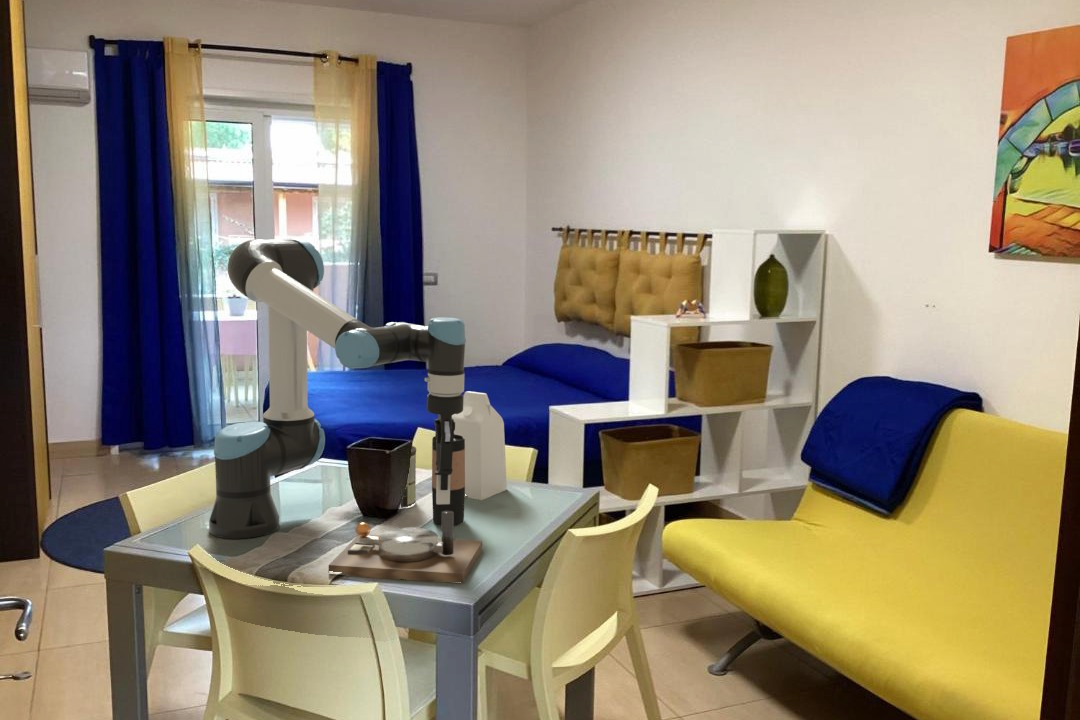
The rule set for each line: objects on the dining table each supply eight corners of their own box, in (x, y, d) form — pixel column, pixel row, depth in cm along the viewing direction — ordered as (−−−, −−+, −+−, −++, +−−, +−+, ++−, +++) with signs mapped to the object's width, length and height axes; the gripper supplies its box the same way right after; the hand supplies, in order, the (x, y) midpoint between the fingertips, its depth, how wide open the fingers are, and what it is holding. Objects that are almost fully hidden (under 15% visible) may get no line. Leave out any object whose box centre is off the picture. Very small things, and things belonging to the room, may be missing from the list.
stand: (328, 574, 184) (328, 561, 183) (360, 542, 202) (359, 530, 202) (462, 583, 180) (462, 570, 180) (482, 550, 199) (482, 537, 198)
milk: (506, 489, 244) (507, 392, 241) (481, 500, 235) (481, 398, 231) (469, 482, 251) (470, 387, 247) (443, 492, 241) (443, 393, 237)
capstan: (343, 555, 188) (343, 512, 186) (368, 536, 199) (368, 495, 198) (442, 566, 183) (442, 522, 181) (462, 546, 194) (462, 504, 193)
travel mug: (425, 523, 216) (425, 439, 213) (443, 514, 222) (443, 432, 220) (453, 528, 212) (453, 443, 209) (471, 519, 219) (471, 436, 216)
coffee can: (390, 513, 223) (390, 455, 221) (366, 503, 230) (365, 448, 228) (425, 504, 230) (424, 449, 228) (400, 495, 237) (399, 441, 235)
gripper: (424, 387, 198) (422, 494, 201) (429, 399, 185) (427, 513, 189) (459, 387, 199) (457, 493, 203) (467, 399, 186) (464, 512, 190)
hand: (442, 503), depth 196 cm, fingers closed
